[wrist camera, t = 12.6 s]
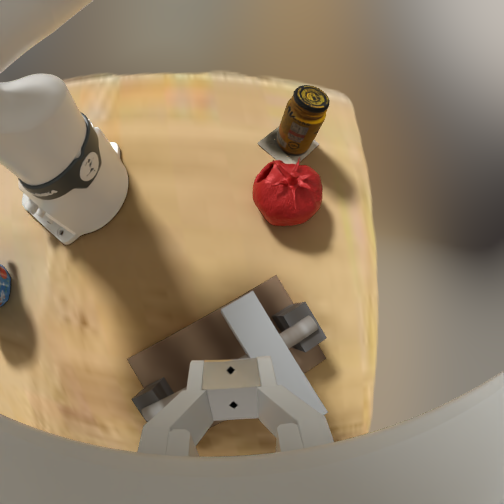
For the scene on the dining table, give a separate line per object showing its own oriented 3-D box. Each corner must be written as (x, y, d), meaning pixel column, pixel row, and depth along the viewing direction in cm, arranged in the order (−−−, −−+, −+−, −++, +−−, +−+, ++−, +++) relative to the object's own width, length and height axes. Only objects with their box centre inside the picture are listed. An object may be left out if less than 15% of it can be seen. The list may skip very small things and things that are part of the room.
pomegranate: (322, 221, 42) (348, 199, 33) (262, 240, 40) (277, 220, 31) (298, 167, 44) (316, 135, 35) (240, 181, 42) (247, 148, 33)
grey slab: (270, 392, 34) (299, 431, 20) (220, 311, 36) (221, 309, 22) (289, 380, 35) (328, 412, 21) (240, 300, 36) (252, 290, 23)
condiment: (319, 144, 46) (343, 101, 34) (290, 171, 44) (311, 127, 32) (287, 120, 46) (304, 73, 35) (256, 144, 44) (268, 95, 32)
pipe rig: (181, 438, 32) (173, 467, 23) (129, 358, 34) (104, 368, 25) (323, 357, 37) (351, 366, 28) (274, 276, 39) (290, 263, 30)
